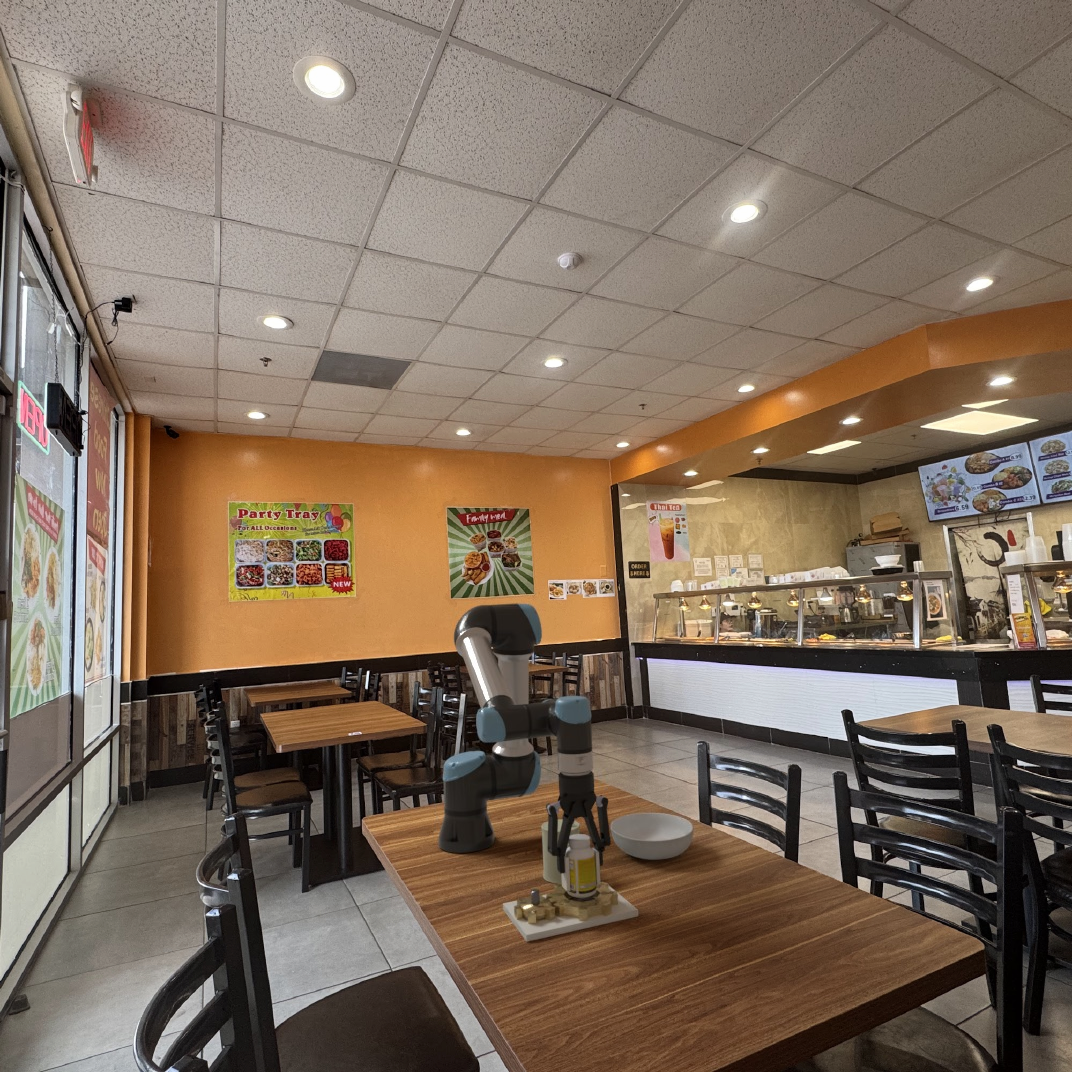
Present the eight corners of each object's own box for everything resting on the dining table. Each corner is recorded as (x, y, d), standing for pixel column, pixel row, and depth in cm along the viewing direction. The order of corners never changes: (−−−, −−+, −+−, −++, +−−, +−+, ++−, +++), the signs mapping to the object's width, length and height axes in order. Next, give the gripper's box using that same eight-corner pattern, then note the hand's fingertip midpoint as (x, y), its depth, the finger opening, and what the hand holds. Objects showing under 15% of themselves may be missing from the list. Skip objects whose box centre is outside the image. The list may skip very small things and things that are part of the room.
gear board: (503, 909, 140) (502, 903, 140) (605, 888, 148) (605, 882, 148) (526, 941, 126) (526, 935, 126) (638, 916, 134) (638, 909, 134)
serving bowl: (601, 864, 162) (600, 835, 163) (623, 836, 181) (622, 809, 182) (687, 873, 154) (685, 843, 155) (700, 843, 173) (699, 815, 174)
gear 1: (509, 909, 137) (508, 887, 137) (548, 901, 140) (547, 879, 140) (522, 927, 129) (521, 903, 130) (563, 918, 132) (562, 894, 133)
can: (579, 885, 150) (576, 830, 152) (539, 883, 152) (537, 829, 153) (584, 869, 159) (582, 817, 161) (547, 867, 161) (544, 816, 162)
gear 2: (538, 896, 142) (537, 887, 142) (598, 884, 147) (597, 875, 147) (563, 925, 129) (563, 914, 129) (629, 911, 134) (628, 900, 134)
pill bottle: (599, 887, 140) (597, 833, 141) (592, 900, 134) (589, 843, 136) (571, 885, 142) (569, 831, 143) (563, 897, 136) (560, 841, 138)
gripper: (540, 781, 134) (545, 901, 132) (624, 769, 141) (630, 883, 138) (527, 773, 141) (532, 887, 139) (608, 762, 148) (614, 870, 145)
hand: (581, 885), depth 139 cm, fingers closed on pill bottle, 6 cm apart
